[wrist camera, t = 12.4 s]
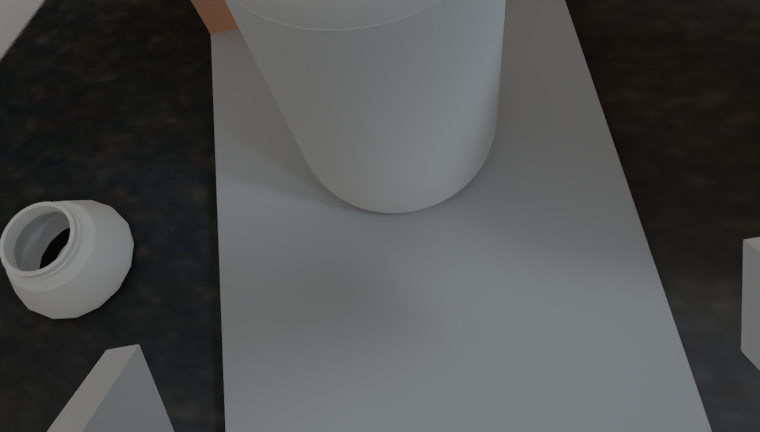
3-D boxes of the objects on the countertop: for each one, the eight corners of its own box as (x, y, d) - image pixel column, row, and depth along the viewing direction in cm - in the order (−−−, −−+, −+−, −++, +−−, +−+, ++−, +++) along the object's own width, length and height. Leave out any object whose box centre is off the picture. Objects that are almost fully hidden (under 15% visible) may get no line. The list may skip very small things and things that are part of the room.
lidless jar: (64, 194, 27) (3, 298, 26) (20, 164, 25) (-52, 278, 23) (158, 226, 26) (100, 337, 25) (122, 198, 23) (54, 320, 22)
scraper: (535, -74, 30) (544, -151, 26) (725, 492, 20) (784, 495, 16) (213, -6, 31) (179, -71, 27) (237, 564, 21) (186, 584, 17)
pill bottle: (520, 73, 26) (576, -384, 12) (460, 244, 23) (445, -89, 10) (347, 34, 28) (227, -395, 14) (274, 187, 25) (41, -154, 12)
